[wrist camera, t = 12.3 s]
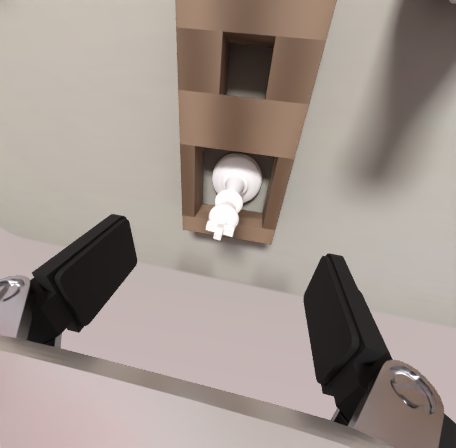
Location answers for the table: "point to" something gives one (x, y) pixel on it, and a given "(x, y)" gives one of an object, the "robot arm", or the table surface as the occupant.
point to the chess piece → (232, 191)
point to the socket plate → (242, 106)
